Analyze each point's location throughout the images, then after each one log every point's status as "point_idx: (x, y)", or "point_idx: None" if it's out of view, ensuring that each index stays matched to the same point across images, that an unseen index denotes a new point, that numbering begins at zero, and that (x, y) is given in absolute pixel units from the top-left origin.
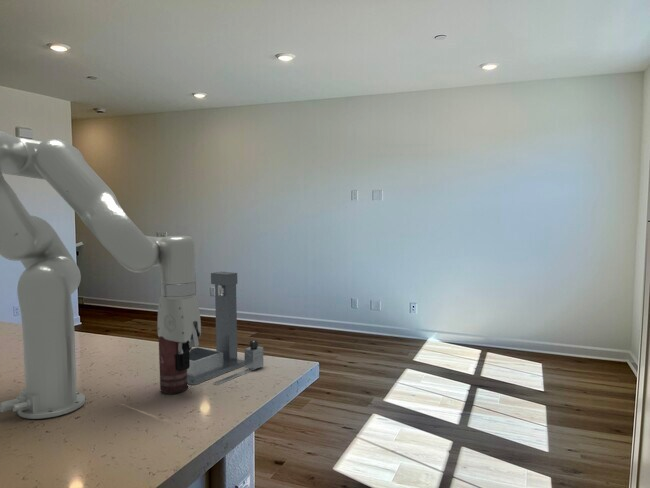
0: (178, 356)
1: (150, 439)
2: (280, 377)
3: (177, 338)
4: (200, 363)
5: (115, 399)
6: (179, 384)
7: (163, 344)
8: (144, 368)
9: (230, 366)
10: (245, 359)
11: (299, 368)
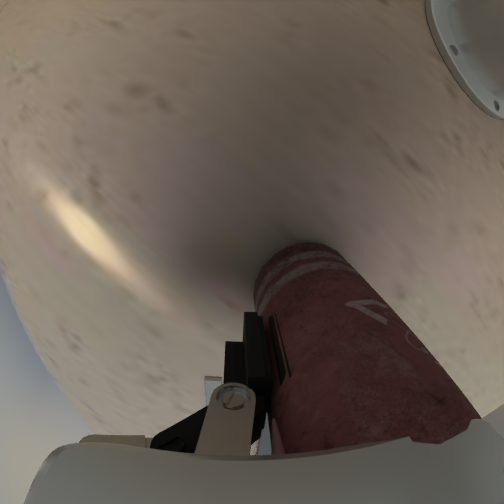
0: (248, 370)
1: (73, 15)
2: None
3: (160, 488)
4: None
5: (415, 127)
6: (258, 290)
7: (399, 389)
8: (475, 340)
9: (260, 451)
10: None
11: None
